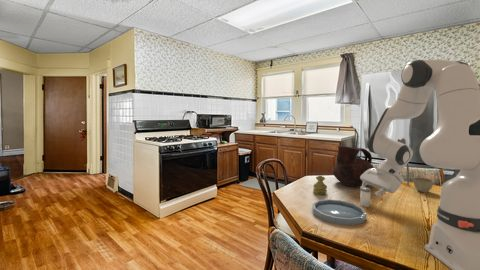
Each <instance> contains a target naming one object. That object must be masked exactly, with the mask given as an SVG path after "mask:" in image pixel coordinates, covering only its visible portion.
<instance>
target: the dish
mask: <svg viewBox="0 0 480 270" xmlns="http://www.w3.org/2000/svg"><path fill="white" fill-rule="evenodd" d="M311 207H312V209H311V210H312V214H313V215H315V217H318V218H319V219H320V220H322V221H326V222H329V223H332V224H335V225H342V226H343V225H344V226H345V225H346V226H354V225H360V224H363V223H364V222H365V221H366V220H367V212H366V211H365V209H364V208H363V207H362V206H359V205H357V204H355V203H352V202H349V201H344V200H339V199H327V198H326V199H319V200H317V201H315V202H313V203H312V206H311Z"/></svg>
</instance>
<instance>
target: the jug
mask: <svg viewBox="0 0 480 270" xmlns="http://www.w3.org/2000/svg"><path fill="white" fill-rule="evenodd" d="M359 152H361V153H362V154H363V156H364V159H363V158H361V157H357V156H358V155H359ZM372 158H373V157H372V154H371V152H370V151H369V150H368V149H365V148H363V147H362V148H361V147H349V146H344V145H338V146H337V154H336V163H335V164H334V167H333V169H332V174H333V176H334V177H335V179H336V180H337V181H339V182H340V183H342V184H343V185H345V186H346V185H347V186H351V187H361V186H362V183H363V181H362V180H361V179H360V176H361V175H362V174H363V173H364V172H365V171H367V170H368V169H371V168H375V167H374V166H373V164H372V160H373V159H372Z"/></svg>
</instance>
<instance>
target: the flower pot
mask: <svg viewBox="0 0 480 270" xmlns="http://www.w3.org/2000/svg"><path fill="white" fill-rule="evenodd" d="M412 181H413V185H414V187H415V189H416V191H418V192H420V193H425V194H426V193H429V191H430V190H431V189H432V188H433V186H434V183H435V180H433V179H430V178H426V177H418V176H417V177H413V178H412Z"/></svg>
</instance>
